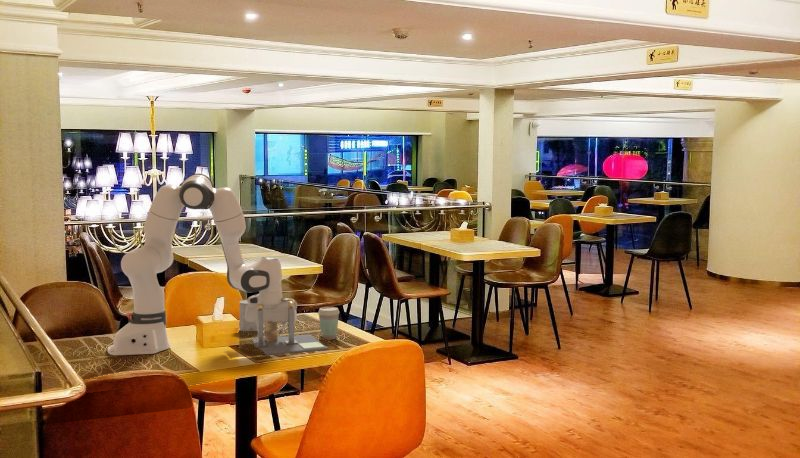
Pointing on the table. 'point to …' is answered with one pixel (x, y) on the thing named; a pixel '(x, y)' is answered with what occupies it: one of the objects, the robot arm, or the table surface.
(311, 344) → the pad
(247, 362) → the table surface
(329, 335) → the coffee cup
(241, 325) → the grey canister
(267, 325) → the block
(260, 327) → the gate
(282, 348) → the mat
